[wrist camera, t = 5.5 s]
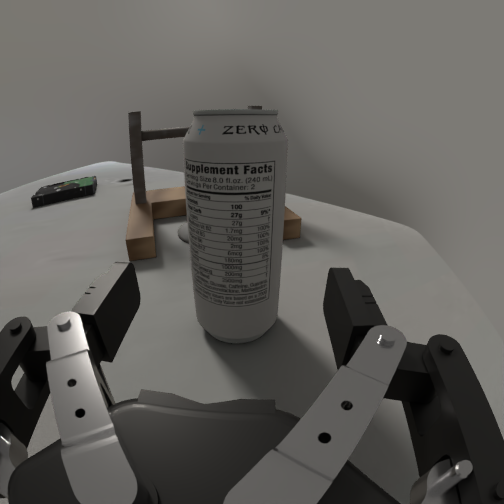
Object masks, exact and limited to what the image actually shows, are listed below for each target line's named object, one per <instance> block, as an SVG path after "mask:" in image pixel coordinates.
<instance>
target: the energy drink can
mask: <svg viewBox="0 0 504 504" xmlns="http://www.w3.org/2000/svg"><path fill="white" fill-rule="evenodd" d="M193 114H194V119H193V122H192V124H191V126H190V128H189V130H188V131H187V133H186V135H185V137H184V140H183V152H184V153H183V154H184V177H185V195H186V210H187V224H188V237H189V249H190V260H191V270H192V280H193V290H194V299H195V307H196V316H197V319H198V322H199V323H200V325H201V326H202V327H203V328H204V329H205V330H207V331H208V332H209V333H210V334H211V335H212V336H213V337H215V338H216V339H218V340H221V341H224V342H228V343H246V342H250V341H253V340H255V339H257V338H259V337H261V336H262V335H263V334H264V333H265V332H266V331H267V330H268V329H269V328H270V327H271V326H272V325H273V324H274V322H275V321H276V318H277V313H278V301H279V288H280V274H281V260H282V245H283V229H284V211H285V193H286V172H287V149H288V139H287V137H286V135H285V133H284V131H283V129H282V127H281V125H280V123H279V121H278V119H277V114H278V110H251V109H242V110H240V109H234V110H233V109H231V110H199V111H193Z"/></svg>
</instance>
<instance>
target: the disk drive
mask: <svg viewBox="0 0 504 504" xmlns="http://www.w3.org/2000/svg"><path fill="white" fill-rule="evenodd" d="M96 186H97V180H96V176H93V177H85V178H81V179H76V180H71V181H67V182H62V183H57V184H53V185H48V186H44V187H41V188H40V189H39V190H38V191H37V192H36V194H35V195H33V196H32V198H31V200H32V205H33V208H34V207H38V206H42V205H46V204H51V203H55V202H59V201H64V200H69V199H73V198H78V197H83V196H88V195H93V194H95V191H96Z"/></svg>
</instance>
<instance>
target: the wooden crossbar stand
mask: <svg viewBox="0 0 504 504" xmlns="http://www.w3.org/2000/svg"><path fill="white" fill-rule="evenodd" d="M248 109H251V110H262V106H248ZM189 128H190V127H179V128H166V129H156V130H147V131H141V112H131V113H129V134H130V151H131V164H132V175H133V185H134V193H133V196H132V201H131V207H130V214H129V220H128V227H127V234H126V245H127V250H128V256H129V261H133V260H140V259H147V258H154V257H156V250H155V238H154V224H153V219H159V218H167V217H175V216H183V215H187V210H186V195H185V187H175V188H167V189H158V190H150V191H146V189H145V178H144V166H143V153H142V141H146V140H154V139H165V138H176V137H185V135H186V133H187V131H188V130H189ZM300 229H301V218H300V217H299V216H298V215H296V214H295V213H294V212H292V211H291V210H290V209H288V208H287V207H286V206H285V211H284V229H283V240H286V239H293V238H300ZM178 236H179V238H180V239H181V240H183V241H185V242H187V243H189V237H188V224H187V222H186V223H184V224H183V225H181V226H180V227H179V229H178Z"/></svg>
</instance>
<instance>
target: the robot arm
mask: <svg viewBox="0 0 504 504" xmlns="http://www.w3.org/2000/svg"><path fill="white" fill-rule="evenodd" d="M89 287H90V288H88V289H87V290H86V292H85V294H83V296H82V297H81V298H80V299H79V301H78V302H77V303H76V305H75V306H74V308H73V309H72V310H71V312H63V313H60V314H58V315H56V316H55V317H53V318H52V319H51V320H50V322H49V324H48V326H45V327H34V328H33V325H32V323H31V321H30V320H29V319H28V318H27V317H18V318H15V319H13V320H11V321H10V322H8V323H7V324H6V325H5V327H4V328H3V329H2V331H1V332H0V498H8V501H9V504H400V503H399V502H398V501H397V500H395V499H394V498H393V497H392V496H390V495H389V494H388V493H387V492H385V491H384V490H383V489H382V488H380V487H379V486H378V485H377V484H376V483H374V482H373V481H372V480H371V479H370V478H368V477H367V476H366V475H365V474H364V473H362V472H361V471H360V470H359V469H358V468H357V467H355V466H354V465H353V464H352V463H351V462H350V461H349V460H348V458H349V456H350V455H351V453H352V452H353V450H354V449H355V447H356V445H357V444H358V442H359V440H360V439H361V437H362V435H363V434H364V432H365V430H366V428H367V427H368V425H369V423H370V421H371V420H372V418H373V416H374V414H375V412H376V410H377V408H378V407H379V405H380V403H381V401H382V399H383V398H386V399H393V400H400V401H402V404H403V408H404V411H405V415H406V419H407V423H408V427H409V431H410V435H411V439H412V443H413V448H414V452H415V457H416V461H417V466H418V471H419V476H420V478H419V479H418V480H417V481H416V482H415V483H414V484H413V486H412V488H411V492H410V504H504V440H503V437H502V434H501V432H500V429H499V427H498V424H497V422H496V419H495V417H494V414H493V412H492V410H491V407H490V405H489V403H488V400H487V398H486V396H485V394H484V391H483V389H482V387H481V385H480V383H479V381H478V379H477V377H476V375H475V373H474V371H473V369H472V367H471V365H470V363H469V361H468V359H467V357H466V355H465V353H464V351H463V349H462V348H461V346H460V344H459V343H458V342H457V341H456V340H455V339H453V338H451V337H449V336H447V335H440V334H439V335H434V336H432V337H431V338H430V339H429V341H428V343H427V345H422V344H416V343H410V342H407V341H406V338H405V336H404V335H403V333H402V332H400V331H399V330H398V329H396V328H394V327H391V326H387V323H386V321H385V319H384V317H383V315H382V313H381V311H380V309H379V307H378V305H377V304H376V301H375V299H374V297H373V295H372V293H371V291H370V289H369V287H368V286H367V285H365V284H364V283H363V282H362V281H361V280H354V278H353V276H352V274H351V272H350V270H349V268H330V269H329V272H328V278H327V284H326V290H325V296H324V303H323V310H324V316H325V320H326V324H327V328H328V332H329V336H330V340H331V344H332V348H333V352H334V357H335V361H336V365H337V369H338V371H337V373H336V374H335V375H334V377H333V378H332V380H331V381H330V382H329V384H328V385H327V386H326V388H325V389H324V390H323V392H322V393H321V394H320V396H319V397H318V398H317V399H316V401H315V402H314V403H313V405H312V406H311V407H310V408H309V410H308V411H307V412H306V413H305V415H304V416H303V417H302V418H301V419H300V418H298V417H297V416H294V415H292V414H290V413H287V412H284V411H281V410H276V409H275V400H251V399H238V400H232V401H226V402H219V403H211V404H202V403H198V402H195V401H192V400H189V399H186V398H183V397H180V396H177V395H174V394H171V393H163V392H156V391H149V390H143V389H141V391H140V394H139V397H138V398H137V399H130V400H125V401H122V402H119V403H115V401H114V398H113V396H112V393H111V391H110V388H109V386H108V383H107V381H106V378H105V375H104V372H103V370H102V367H101V365H100V362H101V361H107V362H112V361H113V359H114V357H115V355H116V353H117V351H118V349H119V347H120V345H121V343H122V340H123V338H124V336H125V334H126V332H127V330H128V328H129V326H130V324H131V322H132V320H133V318H134V316H135V314H136V312H137V310H138V308H139V306H140V291H139V287H138V282H137V277H136V272H135V267H134V265H133V263H127V262H115V263H114V264H113V265H112V266H111V268H110V269H109V270H108V271H107V273H103V274H102V275H101V276H99V277H98V278H96V279H95V280H94V281H93V283H92V284H91V285H90V286H89ZM19 365H20V367H21V368H22V370H23V371H24V374H23V376H22V378H21V380H20V381H19V383H18V385H17V387H16V389H15V391H14V390H13V388H12V385H11V380H12V376H13V375H14V373H15V371H16V369H17V368H18V366H19ZM50 393H51V398H52V403H53V408H54V413H55V417H56V422H57V426H58V430H59V434H60V439H59V440H57V441H56V442H54V443H53V444H51V445H49V446H48V447H46V448H44V449H43V450H41V451H40V452H38V453H36V454H35V455H33V456H31V457H30V458H28V452H27V447H28V444H29V442H30V439H31V437H32V434H33V432H34V429H35V427H36V424H37V422H38V419H39V417H40V415H41V412H42V410H43V408H44V405H45V403H46V401H47V399H48V397H49V394H50Z"/></svg>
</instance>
